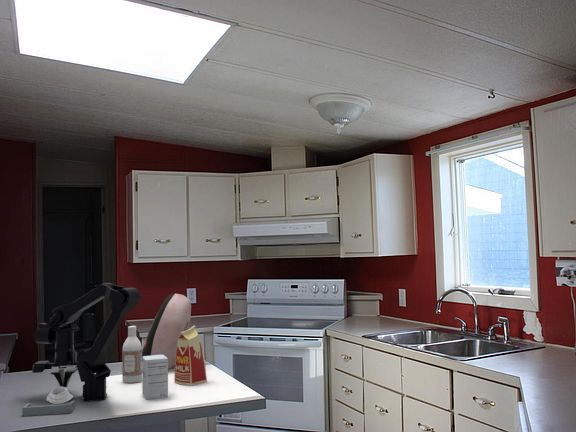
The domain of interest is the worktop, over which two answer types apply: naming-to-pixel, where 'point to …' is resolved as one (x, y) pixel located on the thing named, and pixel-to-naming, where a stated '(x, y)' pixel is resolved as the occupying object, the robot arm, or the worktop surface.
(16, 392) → the worktop surface
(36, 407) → the tray
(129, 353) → the bath foam
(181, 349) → the milk carton
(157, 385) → the supplement box
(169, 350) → the beige tall rounded piece
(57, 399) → the whipped cream
